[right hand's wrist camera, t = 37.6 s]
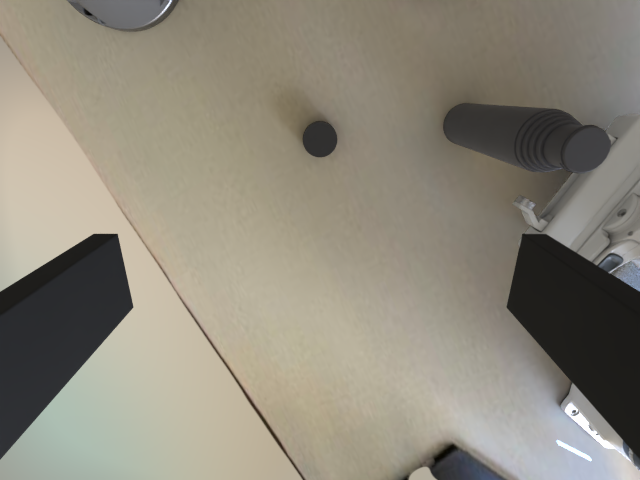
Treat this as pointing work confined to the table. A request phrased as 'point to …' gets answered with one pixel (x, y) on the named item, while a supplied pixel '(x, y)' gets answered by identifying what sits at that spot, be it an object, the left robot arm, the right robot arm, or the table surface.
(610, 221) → the left robot arm
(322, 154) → the cap
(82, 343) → the right robot arm
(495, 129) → the bottle
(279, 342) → the table surface
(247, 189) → the table surface
